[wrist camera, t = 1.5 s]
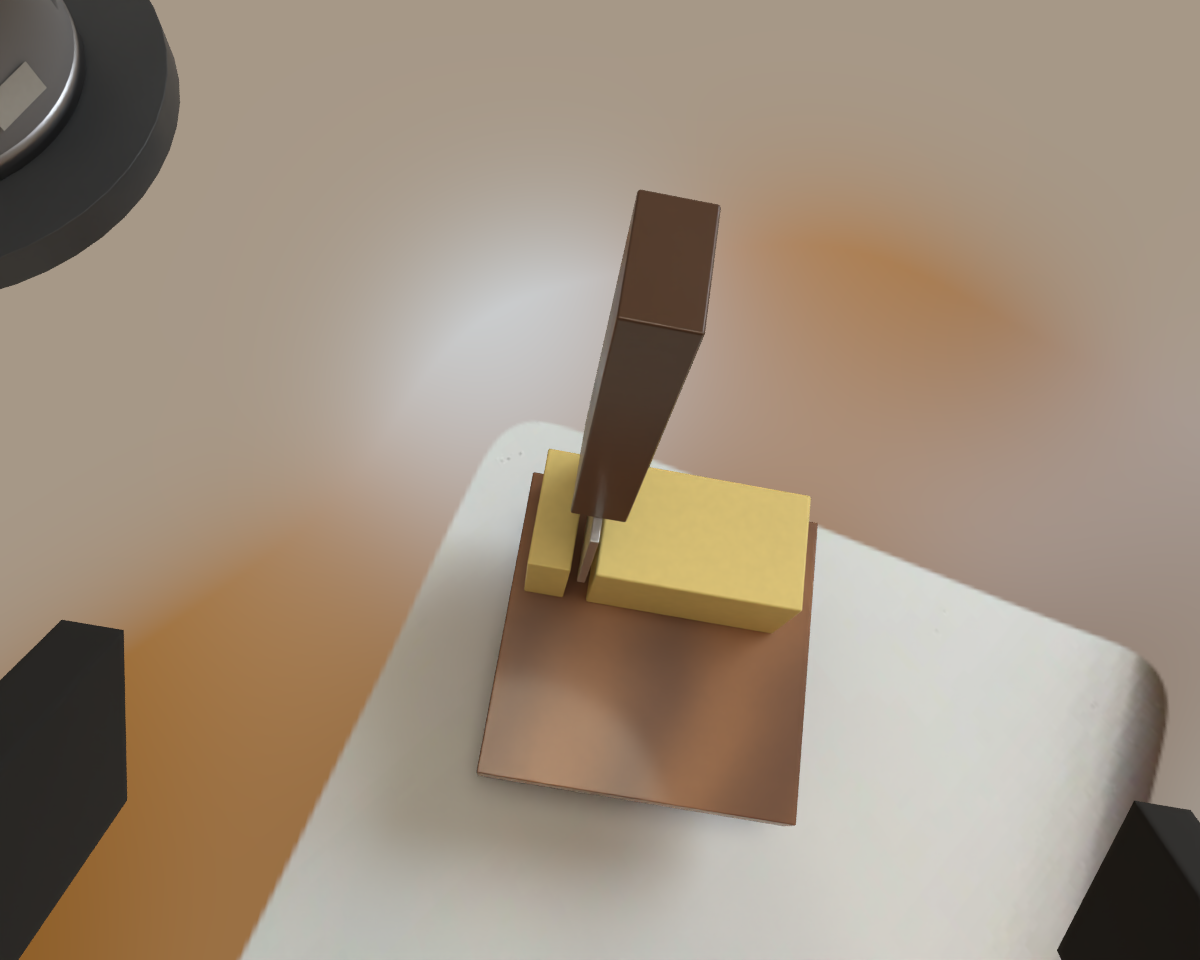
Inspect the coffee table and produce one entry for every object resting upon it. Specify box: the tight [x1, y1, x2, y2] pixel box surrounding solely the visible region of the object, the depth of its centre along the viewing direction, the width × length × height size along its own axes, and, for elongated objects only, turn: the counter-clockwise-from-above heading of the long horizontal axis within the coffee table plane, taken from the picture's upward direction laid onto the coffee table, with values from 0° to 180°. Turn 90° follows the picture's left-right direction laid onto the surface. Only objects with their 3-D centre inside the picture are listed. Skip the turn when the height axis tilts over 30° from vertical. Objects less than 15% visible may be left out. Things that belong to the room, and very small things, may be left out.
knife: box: [571, 190, 721, 583], centre depth 28 cm, size 2×5×17 cm, turn 172°
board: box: [477, 472, 818, 826], centre depth 39 cm, size 12×12×2 cm
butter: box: [524, 449, 811, 633], centre depth 37 cm, size 10×4×4 cm, turn 81°
